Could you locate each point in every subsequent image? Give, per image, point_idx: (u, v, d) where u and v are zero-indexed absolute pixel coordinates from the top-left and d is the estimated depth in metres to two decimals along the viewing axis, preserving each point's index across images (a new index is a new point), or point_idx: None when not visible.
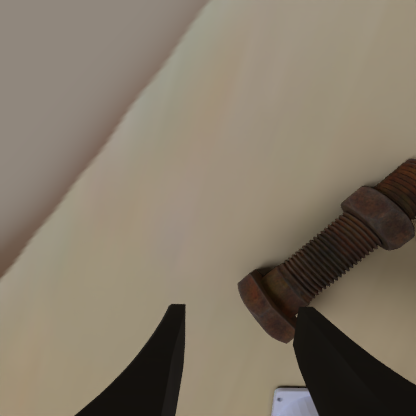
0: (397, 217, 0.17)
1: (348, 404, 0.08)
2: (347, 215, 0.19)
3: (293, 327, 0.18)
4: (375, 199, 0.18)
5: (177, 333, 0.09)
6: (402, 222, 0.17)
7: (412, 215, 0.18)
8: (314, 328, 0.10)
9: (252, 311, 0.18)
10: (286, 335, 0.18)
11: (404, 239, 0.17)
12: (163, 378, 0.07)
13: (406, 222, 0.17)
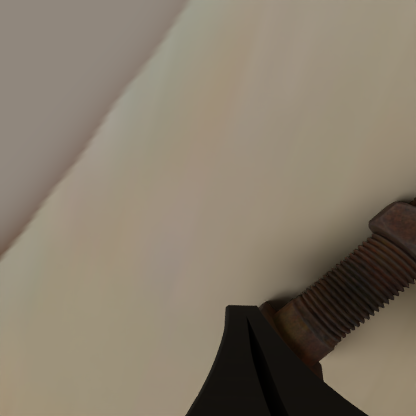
0: None
1: (266, 403, 0.08)
2: (379, 238, 0.15)
3: None
4: None
5: (247, 334, 0.10)
6: None
7: None
8: (249, 326, 0.10)
9: None
10: None
11: None
12: (254, 379, 0.07)
13: None
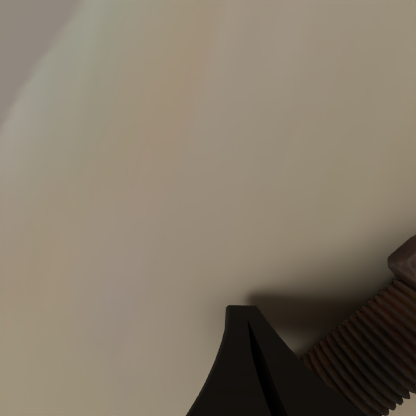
0: None
1: None
2: (406, 290, 0.11)
3: None
4: None
5: (248, 334, 0.10)
6: None
7: None
8: (249, 326, 0.10)
9: None
10: None
11: None
12: (254, 379, 0.07)
13: None
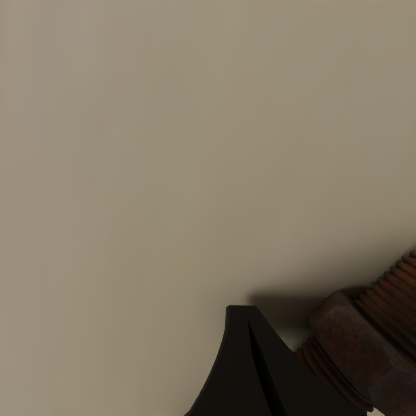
0: (403, 381, 0.09)
1: None
2: (318, 349, 0.11)
3: None
4: (361, 339, 0.10)
5: (248, 334, 0.10)
6: (413, 387, 0.09)
7: None
8: (249, 327, 0.10)
9: None
10: None
11: None
12: (254, 379, 0.07)
13: None
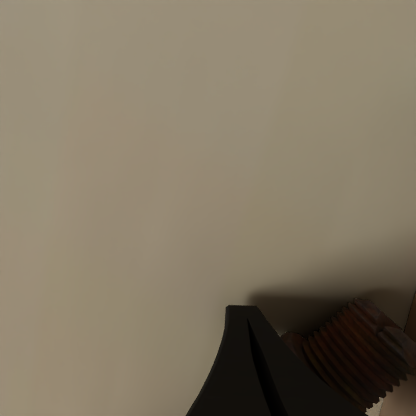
0: None
1: None
2: None
3: None
4: None
5: (248, 334, 0.10)
6: None
7: (365, 407, 0.11)
8: (249, 326, 0.10)
9: None
10: None
11: None
12: (254, 379, 0.07)
13: None
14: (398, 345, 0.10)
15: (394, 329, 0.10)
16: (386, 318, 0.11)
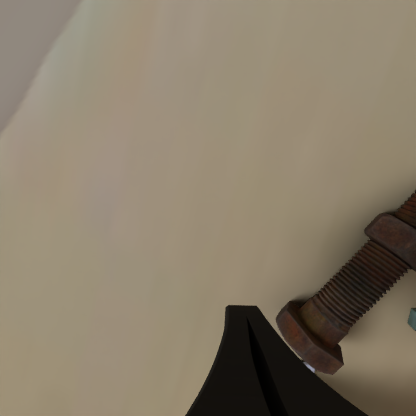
0: None
1: (266, 403, 0.08)
2: (373, 244, 0.20)
3: (337, 359, 0.19)
4: (399, 229, 0.18)
5: (247, 334, 0.10)
6: None
7: None
8: (249, 326, 0.10)
9: (295, 349, 0.19)
10: (331, 367, 0.19)
11: None
12: (254, 379, 0.07)
13: None
14: None
15: None
16: None
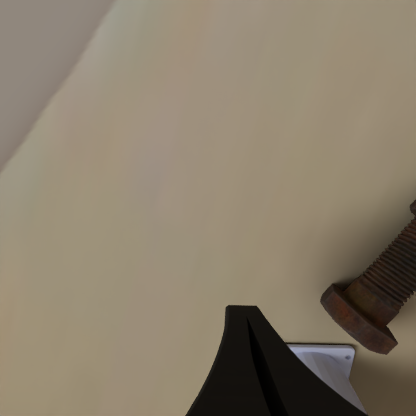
0: None
1: (266, 403, 0.08)
2: None
3: (391, 338, 0.19)
4: None
5: (247, 334, 0.10)
6: None
7: None
8: (249, 326, 0.10)
9: (347, 329, 0.19)
10: (385, 347, 0.19)
11: None
12: (254, 379, 0.07)
13: None
14: None
15: None
16: None
